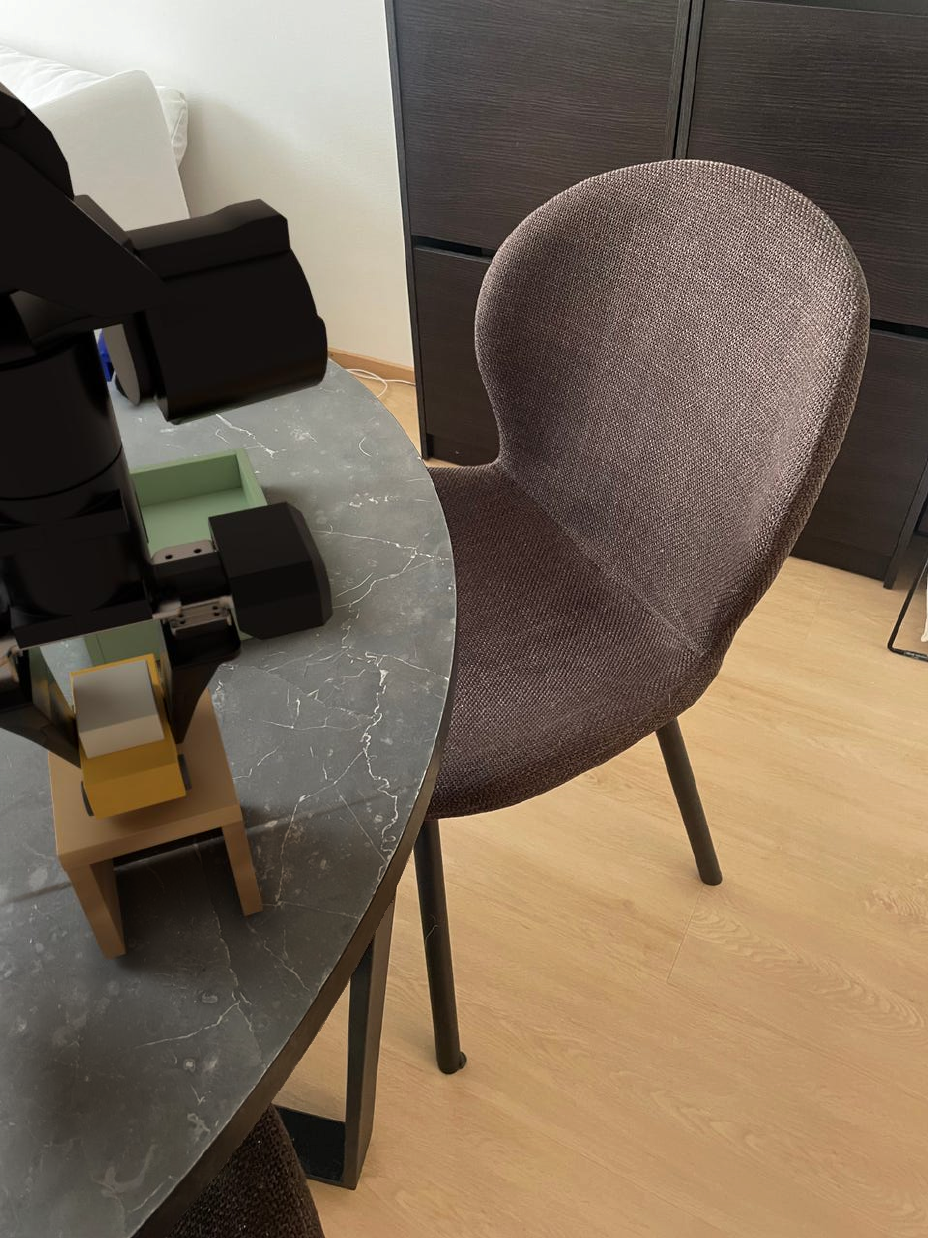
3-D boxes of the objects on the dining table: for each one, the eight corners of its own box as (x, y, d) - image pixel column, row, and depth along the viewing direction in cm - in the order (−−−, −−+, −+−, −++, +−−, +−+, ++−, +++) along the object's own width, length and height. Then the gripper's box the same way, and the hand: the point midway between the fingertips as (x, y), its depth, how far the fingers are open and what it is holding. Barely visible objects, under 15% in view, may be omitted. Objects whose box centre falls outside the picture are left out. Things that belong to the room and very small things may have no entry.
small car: (195, 802, 44) (177, 735, 41) (92, 831, 43) (65, 764, 40) (171, 692, 49) (153, 625, 46) (77, 715, 48) (53, 648, 45)
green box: (95, 675, 64) (81, 633, 61) (72, 521, 76) (59, 481, 73) (305, 625, 67) (299, 583, 65) (250, 485, 79) (244, 446, 77)
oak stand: (105, 966, 49) (56, 856, 43) (90, 841, 54) (44, 728, 48) (265, 915, 51) (239, 804, 45) (234, 800, 56) (208, 687, 50)
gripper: (253, 319, 44) (291, 595, 54) (-231, 392, 38) (-86, 681, 49) (318, 449, 36) (349, 742, 46) (-277, 562, 31) (-93, 863, 41)
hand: (132, 748), depth 46 cm, fingers closed on small car, 4 cm apart
